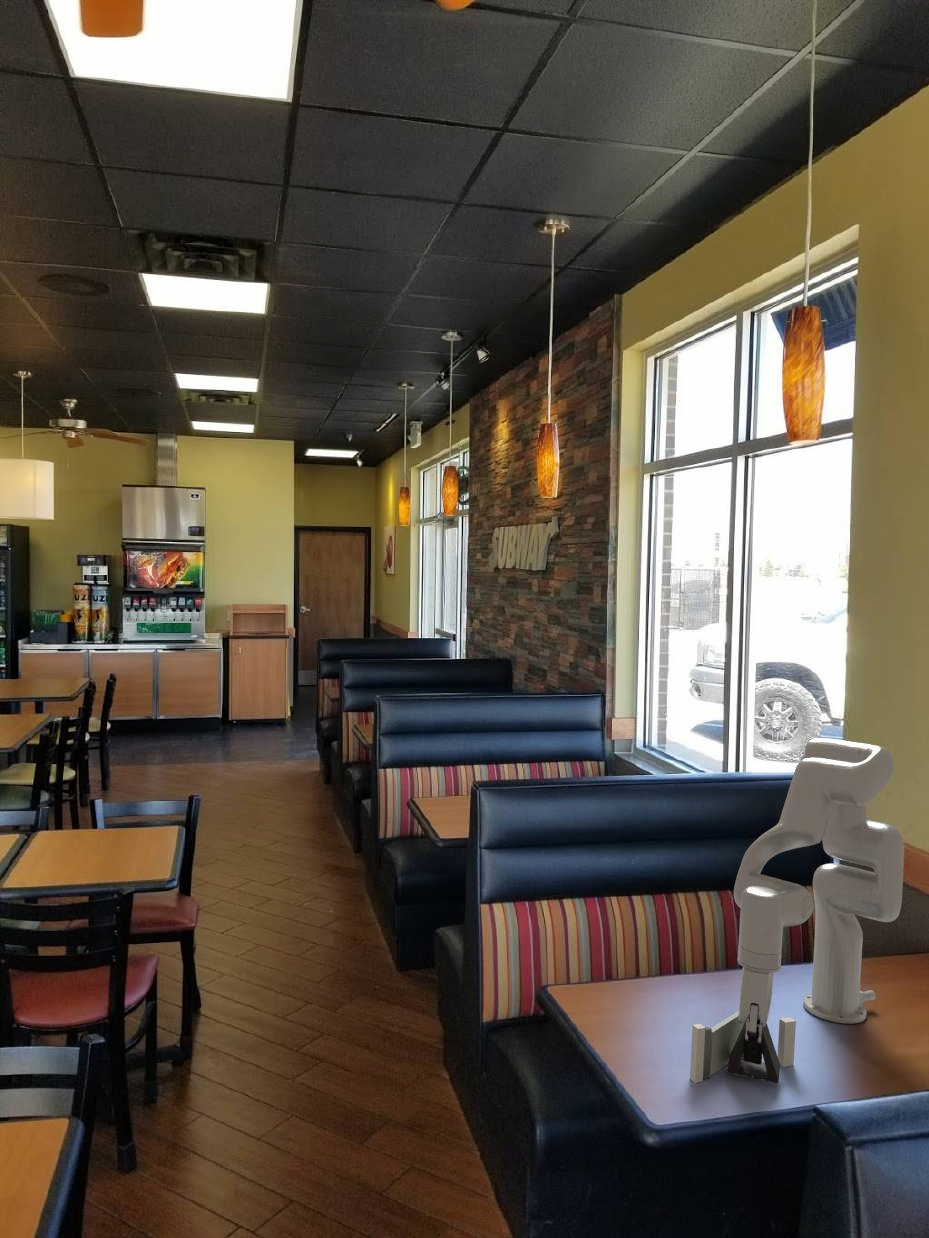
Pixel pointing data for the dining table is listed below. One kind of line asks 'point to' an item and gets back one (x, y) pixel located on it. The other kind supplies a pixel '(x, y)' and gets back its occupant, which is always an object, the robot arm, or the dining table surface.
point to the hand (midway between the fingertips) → (754, 1052)
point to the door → (720, 1044)
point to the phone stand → (765, 1071)
